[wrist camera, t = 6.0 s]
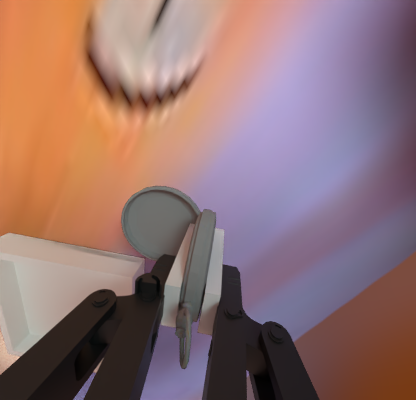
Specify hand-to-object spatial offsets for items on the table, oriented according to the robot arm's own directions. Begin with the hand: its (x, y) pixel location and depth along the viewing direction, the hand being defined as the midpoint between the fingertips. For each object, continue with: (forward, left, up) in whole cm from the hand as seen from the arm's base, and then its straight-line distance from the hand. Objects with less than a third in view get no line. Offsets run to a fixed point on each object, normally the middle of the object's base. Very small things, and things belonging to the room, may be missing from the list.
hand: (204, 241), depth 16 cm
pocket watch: (+2, 0, -1) cm, 3 cm away
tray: (+16, +17, -7) cm, 24 cm away
